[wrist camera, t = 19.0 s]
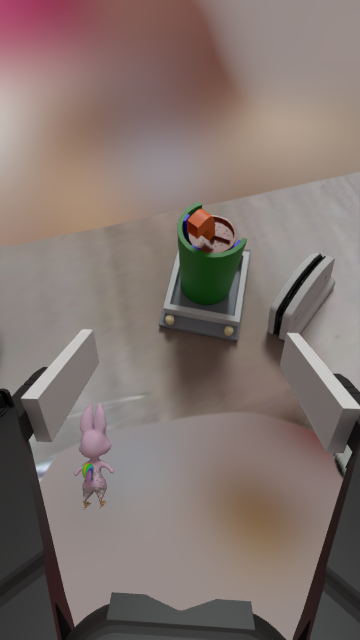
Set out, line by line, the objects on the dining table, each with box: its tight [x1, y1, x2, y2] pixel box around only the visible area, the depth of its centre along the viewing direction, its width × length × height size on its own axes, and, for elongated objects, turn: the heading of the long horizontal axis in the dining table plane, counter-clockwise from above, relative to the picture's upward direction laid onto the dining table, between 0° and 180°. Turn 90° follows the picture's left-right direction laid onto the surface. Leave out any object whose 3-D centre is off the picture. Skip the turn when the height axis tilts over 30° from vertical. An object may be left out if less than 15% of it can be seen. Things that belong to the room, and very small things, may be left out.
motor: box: [177, 202, 247, 306], centre depth 39 cm, size 10×9×20 cm
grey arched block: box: [267, 253, 335, 340], centre depth 44 cm, size 17×5×10 cm, turn 140°
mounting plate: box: [159, 247, 250, 341], centre depth 48 cm, size 15×20×4 cm
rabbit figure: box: [74, 403, 114, 509], centre depth 37 cm, size 6×6×15 cm
